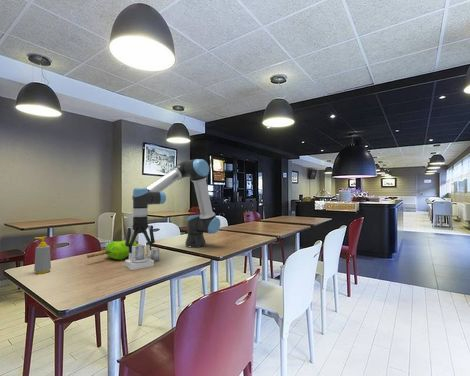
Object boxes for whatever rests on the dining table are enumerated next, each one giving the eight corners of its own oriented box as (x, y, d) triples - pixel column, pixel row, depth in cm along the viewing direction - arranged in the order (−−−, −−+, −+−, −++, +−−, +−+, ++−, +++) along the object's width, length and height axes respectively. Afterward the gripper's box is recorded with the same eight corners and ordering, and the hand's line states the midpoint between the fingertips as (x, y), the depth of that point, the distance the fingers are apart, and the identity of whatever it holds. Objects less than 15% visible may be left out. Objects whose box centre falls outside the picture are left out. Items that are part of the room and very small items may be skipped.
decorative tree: (80, 245, 151) (129, 236, 175) (81, 263, 151) (129, 252, 175) (95, 249, 140) (144, 239, 164) (95, 268, 140) (144, 256, 164)
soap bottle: (33, 271, 133) (33, 236, 133) (50, 269, 137) (50, 235, 137) (34, 275, 127) (34, 238, 128) (51, 272, 132) (51, 236, 132)
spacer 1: (145, 259, 142) (145, 246, 142) (136, 260, 139) (136, 247, 139) (142, 257, 145) (142, 244, 145) (134, 258, 142) (134, 246, 142)
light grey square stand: (146, 261, 151) (146, 244, 151) (154, 266, 142) (154, 247, 142) (124, 265, 143) (125, 247, 144) (131, 270, 134) (131, 251, 135)
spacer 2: (157, 259, 157) (157, 247, 157) (160, 260, 153) (160, 248, 153) (149, 260, 154) (149, 248, 154) (152, 262, 150) (152, 250, 151)
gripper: (156, 214, 152) (156, 253, 151) (118, 216, 138) (118, 259, 138) (161, 215, 146) (161, 256, 145) (122, 217, 133) (122, 262, 132)
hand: (140, 257), depth 142 cm, fingers open, 8 cm apart
